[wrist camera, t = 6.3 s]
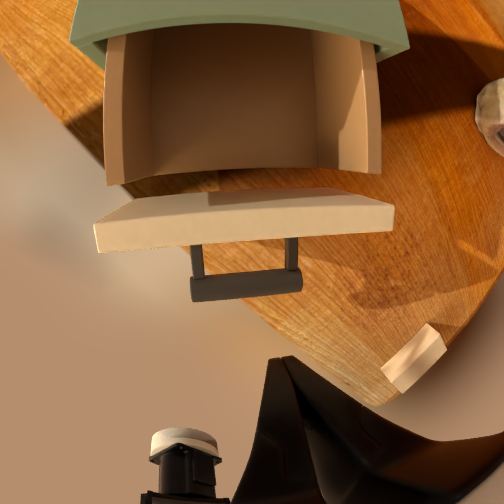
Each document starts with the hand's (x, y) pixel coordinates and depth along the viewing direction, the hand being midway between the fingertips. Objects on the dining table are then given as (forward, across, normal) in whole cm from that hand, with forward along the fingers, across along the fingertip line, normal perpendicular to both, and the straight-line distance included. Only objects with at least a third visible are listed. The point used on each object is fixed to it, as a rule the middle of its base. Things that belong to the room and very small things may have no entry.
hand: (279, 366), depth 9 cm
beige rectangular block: (+10, -18, +13) cm, 24 cm away
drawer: (+10, 0, -8) cm, 13 cm away
